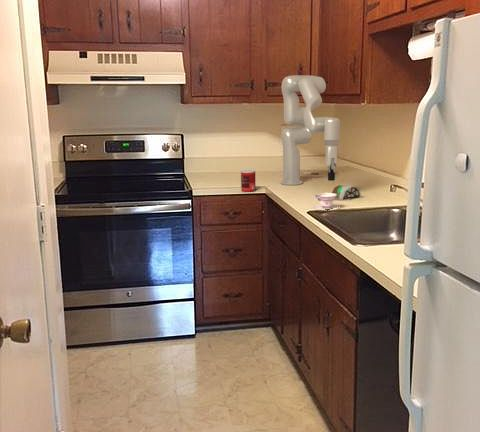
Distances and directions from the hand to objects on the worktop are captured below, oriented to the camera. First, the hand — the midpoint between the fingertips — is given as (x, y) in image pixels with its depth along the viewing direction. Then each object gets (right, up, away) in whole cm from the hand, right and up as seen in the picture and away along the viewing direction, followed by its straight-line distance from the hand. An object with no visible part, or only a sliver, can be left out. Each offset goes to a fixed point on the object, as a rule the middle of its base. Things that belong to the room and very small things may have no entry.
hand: (331, 180), depth 270 cm
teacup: (-6, -15, -27) cm, 31 cm away
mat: (0, -9, -5) cm, 10 cm away
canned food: (-41, -5, +18) cm, 45 cm away
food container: (+4, -4, -1) cm, 6 cm away
